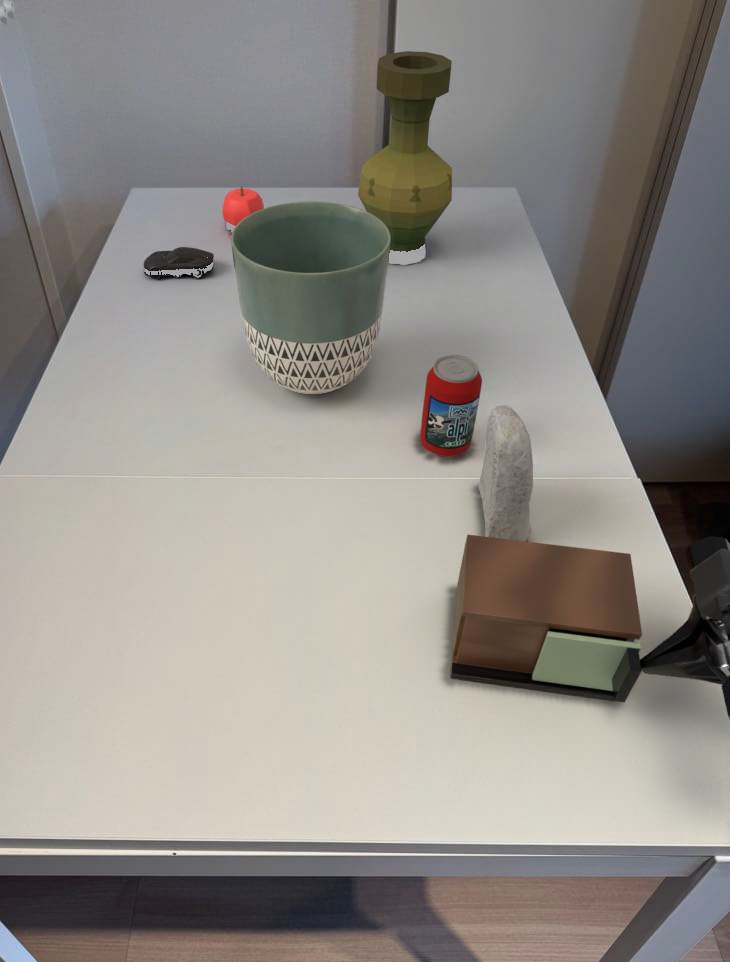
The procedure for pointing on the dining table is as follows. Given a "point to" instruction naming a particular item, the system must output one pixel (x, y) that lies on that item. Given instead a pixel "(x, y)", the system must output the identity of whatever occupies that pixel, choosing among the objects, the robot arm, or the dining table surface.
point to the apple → (241, 205)
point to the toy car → (177, 260)
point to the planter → (311, 291)
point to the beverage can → (450, 405)
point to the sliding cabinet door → (589, 663)
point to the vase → (408, 151)
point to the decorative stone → (506, 476)
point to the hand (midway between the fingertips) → (641, 667)
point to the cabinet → (536, 608)
